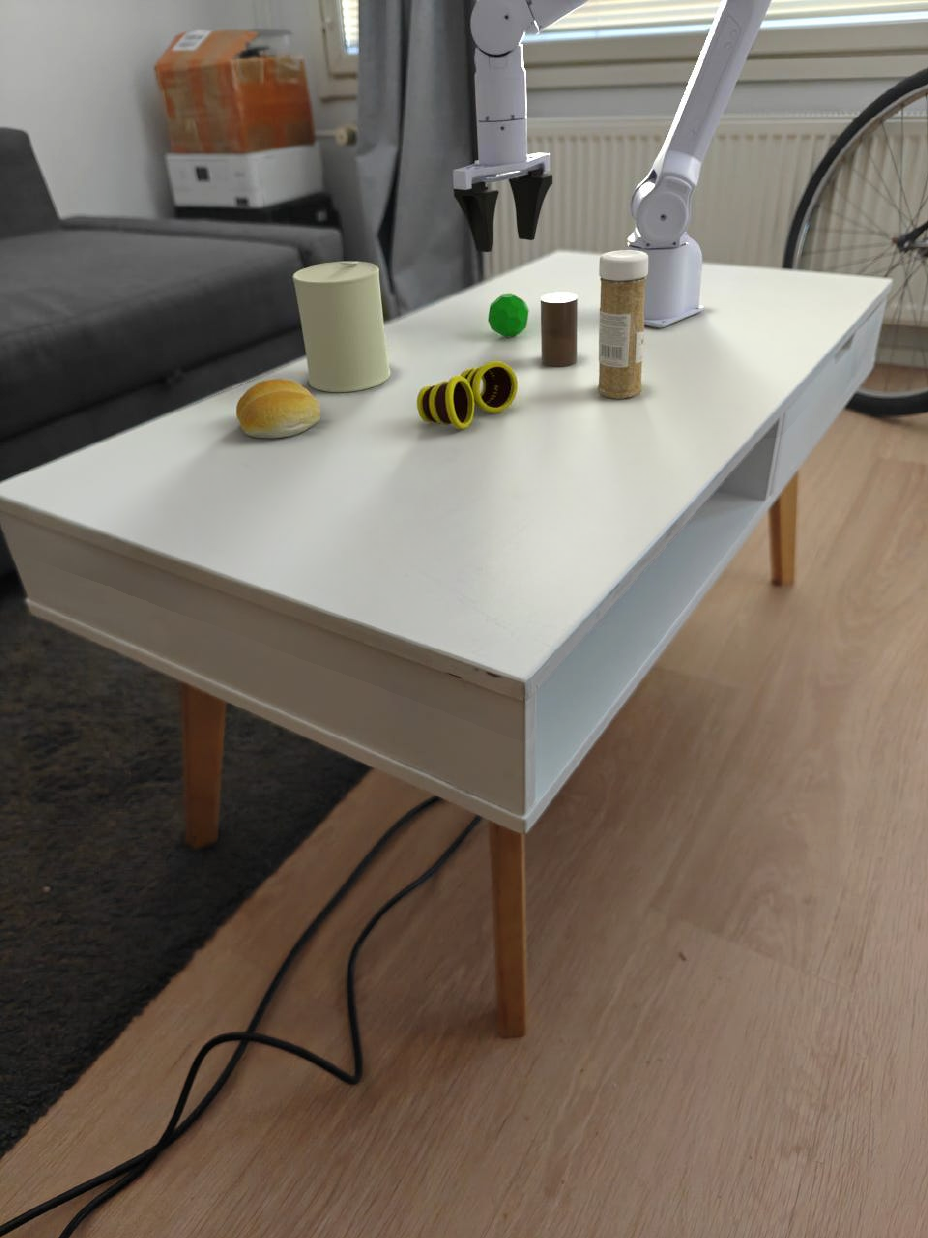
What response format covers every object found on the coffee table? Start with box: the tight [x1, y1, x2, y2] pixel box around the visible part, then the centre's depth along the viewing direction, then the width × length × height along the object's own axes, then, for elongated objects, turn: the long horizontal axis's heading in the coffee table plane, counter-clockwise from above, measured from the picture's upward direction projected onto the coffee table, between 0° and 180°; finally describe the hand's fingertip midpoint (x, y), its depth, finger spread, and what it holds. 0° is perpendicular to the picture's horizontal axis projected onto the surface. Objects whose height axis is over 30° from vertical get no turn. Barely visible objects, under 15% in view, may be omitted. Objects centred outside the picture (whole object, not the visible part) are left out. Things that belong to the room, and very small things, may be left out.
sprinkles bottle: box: [597, 249, 648, 400], centre depth 88 cm, size 5×5×13 cm
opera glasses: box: [416, 360, 519, 430], centre depth 87 cm, size 10×5×5 cm, turn 136°
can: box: [292, 261, 392, 393], centre depth 97 cm, size 9×9×12 cm
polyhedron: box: [487, 293, 530, 338], centre depth 109 cm, size 5×5×5 cm
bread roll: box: [235, 378, 322, 439], centre depth 89 cm, size 8×9×4 cm
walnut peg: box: [540, 292, 579, 368], centre depth 99 cm, size 4×4×7 cm
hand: (505, 244), depth 110 cm, fingers open, 7 cm apart
